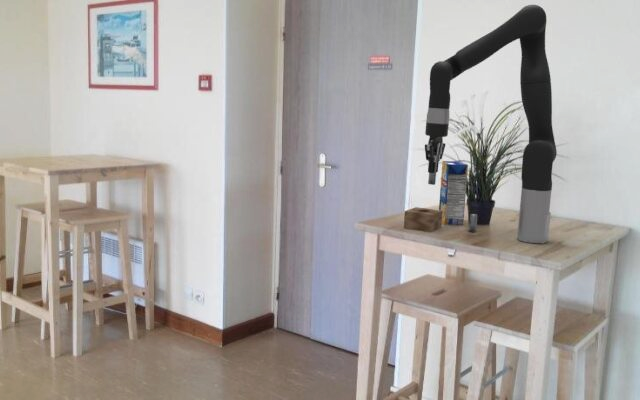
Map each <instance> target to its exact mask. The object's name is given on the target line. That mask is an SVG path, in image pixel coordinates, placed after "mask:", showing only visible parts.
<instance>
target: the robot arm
mask: <svg viewBox="0 0 640 400" xmlns="http://www.w3.org/2000/svg"><path fill="white" fill-rule="evenodd" d="M546 27H547V14H546V11H545V10H544V8H542V6H540V5H538V4H528V5H525V6H523V7H522V8H520V10H519V11H518V12H517V13H515V14H514V15H513V16H511V17H510V18H509V19H507V20H506V21H504V23H502V24H501V25H500V26H498V27H497V28H495V29H494V30H492V31H490V32H489V33H487V34H485V35H483V36H481V37H479V38H478V39H476V40H474V41H473V42H471V43H469V44H467V45H465V46H464V47H462V48H461V49H459V50H458V51H456V52H455V54H454V55H452V56H450V57H449V58H447V59H445V60H441V61H440V60H439V61H436V62H435V63H434V64H433V65H432V66H431V69H430V72H429V96H428V97H429V98H428V106H427V107H428V109H427V113H426V121H425V132H424V134H425V136H428V137H429V138H428V142H427V144H426V143H425V144H424V153H425V161H427V162H428V165H427V166H428V167H427V173H428V174H429V173H434V172H435V163H436V156H437V155H438V160H437V170H436V173H438V171H439V162H440V161H441V160H443V156H444V151H445V150H446V149H445V148H446V143H444V140H443V138H445V137H448V134H449V127H450V107H451V93H450V90H451V88H450V87H451V81H452V80H454V79H456V78H457V77H458V76H460V75H462V74H463V73H464V72H466V71H468V70H470V69H471V68H473V67H476V66H477V65H479V64H481V63H483V62H484V61H486V60H487V59H488V58H490V57H491V56H493V55H494V54H496V53H497V52H498V51H499V50H501V49H502V48H504V47H506V46H507V45H509V44H511V43H512V42H514V41H515V42H516V40H519V44H520V49H521V50H520V51H521V60H520V74H519V75H520V76H519V77H520V81H519V83H520V96H521V102H522V107H523V109H524V114H525V117H526V120H527V124H528V125H527V127H528V143H527V144H526V146H525V147H524V150H523V153H522V162H521V163H522V164H521V178H520V179H521V191H520V204H519V213H518V223H517V232H516V234H517V236H516V239H517V240H518V241H520V242H524V243H530V244H546V243H547V242H548V241H549V232H550V226H551V224H550V223H551V212H550V211H551V210H550V208H551V199H552V188H553V181H552V175H553V164H554V163H553V162H555V160H556V158H557V153H558V152H557V146H556V141H555V135H554V130H553V120H552V119H553V118H552V115H553V114H552V113H553V108H552V107H553V98H552V97H553V95H552V93H553V92H552V91H553V90H552V82H551V81H552V78H551V71H550V67H549V62H548V58H547V53H546V52H547V51H546V29H547V28H546ZM434 152H435V153H434Z"/></svg>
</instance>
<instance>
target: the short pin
mask: <svg viewBox="0 0 640 400" xmlns="http://www.w3.org/2000/svg"><path fill="white" fill-rule="evenodd" d="M477 222H478V214H477V213H470V214H469V224H468V232H469V233H476V232H477V224H478V223H477Z"/></svg>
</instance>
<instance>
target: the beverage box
mask: <svg viewBox="0 0 640 400" xmlns="http://www.w3.org/2000/svg"><path fill="white" fill-rule="evenodd" d="M441 164H442V165H441V177H440V189H439V190H440V191H439V206H438V210H440V211H442V225H443V224H444V225H445V226H446V225H447V226H449V225H450V226H451V225H452V226H464V221H465V206H466V194H467V181H468V168H469V165H468V164H466V163H464V162H463V161H452V160H451V161H450V160H442V163H441Z"/></svg>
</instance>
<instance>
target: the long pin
mask: <svg viewBox="0 0 640 400" xmlns="http://www.w3.org/2000/svg"><path fill="white" fill-rule="evenodd" d="M434 153H435V152H434ZM437 160H438V155H437V156H436V163H435V172H434V173H428V181H427V184H428V185H432V186H433V185H434V186H436V178H437V172H436V170H437Z"/></svg>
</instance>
